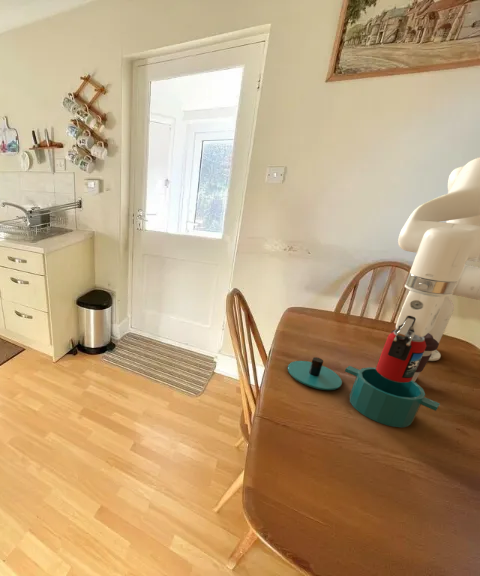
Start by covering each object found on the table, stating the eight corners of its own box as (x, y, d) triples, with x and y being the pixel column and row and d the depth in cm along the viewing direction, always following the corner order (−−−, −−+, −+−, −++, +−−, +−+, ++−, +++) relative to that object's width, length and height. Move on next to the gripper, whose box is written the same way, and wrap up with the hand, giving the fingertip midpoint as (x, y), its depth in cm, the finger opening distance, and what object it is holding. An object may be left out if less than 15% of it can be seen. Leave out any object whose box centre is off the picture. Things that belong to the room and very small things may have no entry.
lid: (300, 359, 103) (305, 343, 101) (349, 381, 93) (355, 363, 90) (278, 373, 96) (282, 356, 94) (327, 398, 86) (333, 379, 84)
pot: (349, 381, 92) (357, 357, 89) (433, 420, 78) (447, 393, 75) (329, 398, 86) (338, 372, 83) (417, 443, 72) (432, 414, 69)
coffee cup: (430, 388, 89) (451, 343, 84) (390, 384, 91) (408, 339, 86) (406, 368, 98) (423, 326, 93) (370, 364, 100) (385, 323, 95)
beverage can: (414, 388, 74) (433, 345, 70) (377, 379, 77) (393, 337, 73) (406, 373, 79) (424, 332, 75) (372, 365, 83) (387, 325, 78)
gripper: (442, 298, 62) (410, 372, 68) (464, 281, 71) (433, 349, 77) (394, 287, 68) (368, 356, 74) (419, 272, 77) (394, 336, 83)
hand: (402, 352), depth 76 cm, fingers closed on beverage can, 6 cm apart
